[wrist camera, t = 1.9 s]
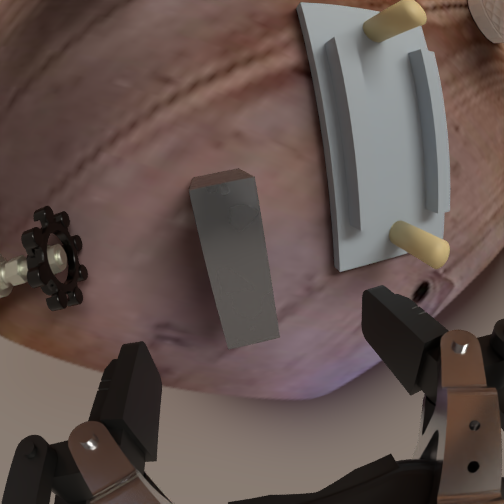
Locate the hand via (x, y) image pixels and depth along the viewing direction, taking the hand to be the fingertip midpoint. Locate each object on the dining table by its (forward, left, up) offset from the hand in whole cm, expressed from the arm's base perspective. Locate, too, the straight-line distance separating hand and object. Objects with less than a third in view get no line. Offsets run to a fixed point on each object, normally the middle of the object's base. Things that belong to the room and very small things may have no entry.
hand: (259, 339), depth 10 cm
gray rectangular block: (0, 0, -11) cm, 11 cm away
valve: (-2, -16, -11) cm, 20 cm away
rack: (-6, +13, -11) cm, 18 cm away
